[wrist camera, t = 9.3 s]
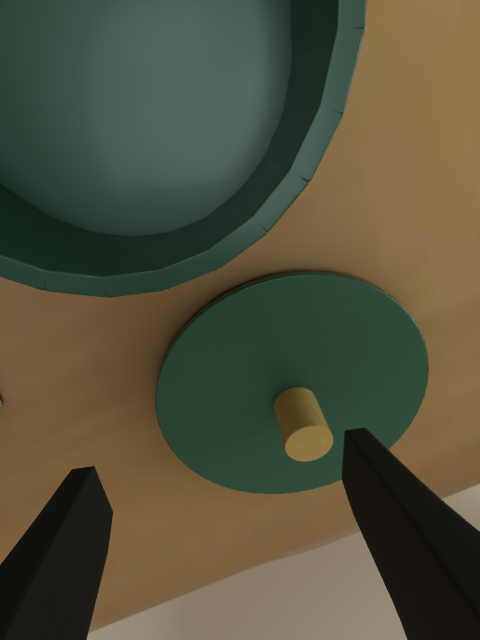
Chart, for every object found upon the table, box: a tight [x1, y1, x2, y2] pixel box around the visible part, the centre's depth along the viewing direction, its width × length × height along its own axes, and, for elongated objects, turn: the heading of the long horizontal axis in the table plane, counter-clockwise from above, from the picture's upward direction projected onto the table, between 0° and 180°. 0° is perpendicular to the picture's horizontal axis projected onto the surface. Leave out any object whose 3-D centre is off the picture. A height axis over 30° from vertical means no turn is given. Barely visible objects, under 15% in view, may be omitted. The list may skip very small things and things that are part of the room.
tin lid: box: [156, 271, 429, 494], centre depth 21 cm, size 17×17×4 cm
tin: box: [0, 0, 367, 298], centre depth 11 cm, size 16×16×6 cm
